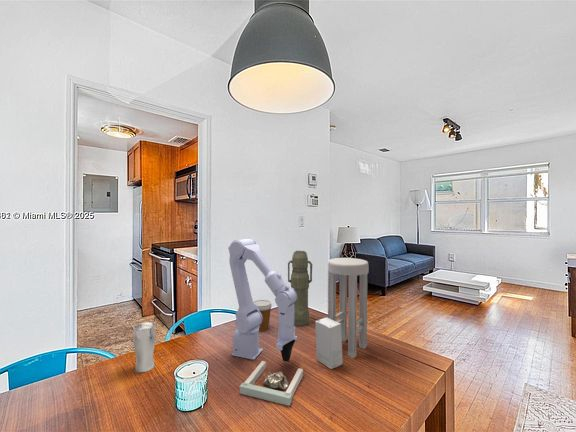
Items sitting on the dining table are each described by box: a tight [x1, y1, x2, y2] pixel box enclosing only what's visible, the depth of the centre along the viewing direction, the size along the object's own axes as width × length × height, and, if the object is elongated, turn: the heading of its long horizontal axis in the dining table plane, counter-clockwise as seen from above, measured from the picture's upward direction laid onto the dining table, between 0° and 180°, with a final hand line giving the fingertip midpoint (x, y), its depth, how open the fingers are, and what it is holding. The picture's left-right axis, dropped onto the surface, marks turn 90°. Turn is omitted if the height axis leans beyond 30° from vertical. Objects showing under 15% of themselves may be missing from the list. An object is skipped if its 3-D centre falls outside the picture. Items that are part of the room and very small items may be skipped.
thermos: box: [287, 250, 313, 327], centre depth 136 cm, size 9×12×35 cm
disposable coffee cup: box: [253, 299, 273, 332], centre depth 130 cm, size 10×10×12 cm
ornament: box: [263, 370, 289, 390], centre depth 89 cm, size 8×7×4 cm
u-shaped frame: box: [239, 360, 304, 407], centre depth 89 cm, size 16×15×2 cm
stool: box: [327, 257, 370, 359], centre depth 112 cm, size 16×16×35 cm
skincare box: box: [314, 316, 344, 370], centre depth 101 cm, size 8×6×15 cm
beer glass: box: [132, 321, 157, 374], centre depth 98 cm, size 7×7×15 cm
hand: (286, 360), depth 100 cm, fingers closed
